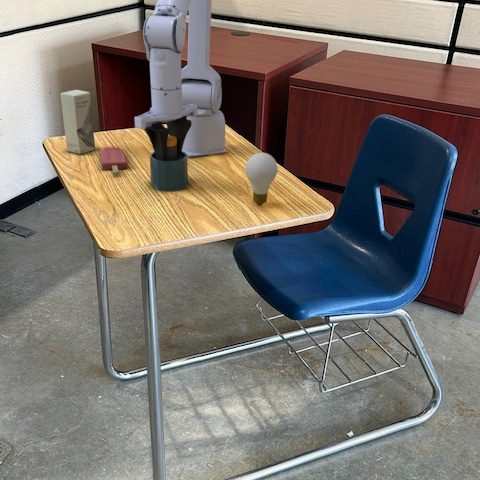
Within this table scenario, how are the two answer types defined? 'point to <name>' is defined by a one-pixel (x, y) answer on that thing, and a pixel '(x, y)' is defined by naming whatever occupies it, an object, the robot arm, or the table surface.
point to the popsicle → (113, 159)
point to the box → (78, 121)
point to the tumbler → (169, 173)
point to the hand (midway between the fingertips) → (168, 158)
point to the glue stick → (171, 148)
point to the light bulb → (261, 175)
